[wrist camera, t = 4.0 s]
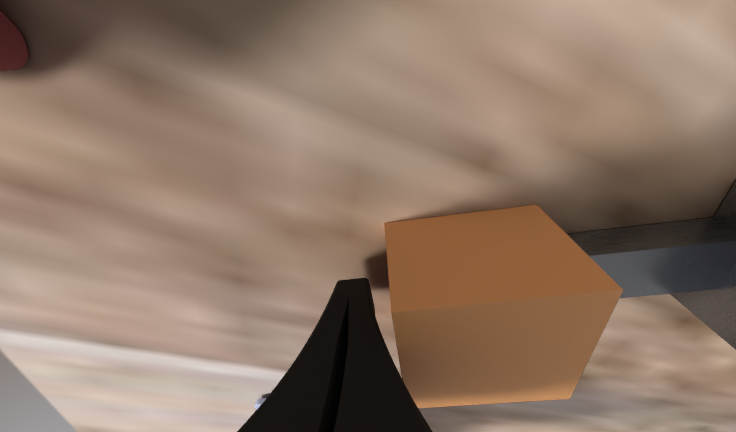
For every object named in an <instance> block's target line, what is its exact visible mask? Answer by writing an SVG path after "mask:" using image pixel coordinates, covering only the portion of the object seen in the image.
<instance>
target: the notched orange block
mask: <svg viewBox="0 0 736 432" xmlns="http://www.w3.org/2000/svg"><path fill="white" fill-rule="evenodd" d="M384 224H385V237H386V250H387V263H388V276H389V288H390V301H391V313H392V319H393V325H394V332H395V338H396V344H397V350H398V356H399V363H400V369H401V375H402V380H403V382H404V384H405V386H406V387H407V389H408V391H409V393H410V395H411V397H412V399H413V400H414V402H415V404H416V405H417V407H418V408H430V407H446V406H462V405H478V404H494V403H510V402H526V401H542V400H558V399H570V397H571V395H572V393H573V391H574V389H575V387H576V385H577V383H578V381H579V379H580V377H581V375H582V373H583V371H584V369H585V367H586V365H587V363H588V361H589V359H590V357H591V355H592V353H593V351H594V349H595V347H596V345H597V343H598V341H599V339H600V337H601V334H602V332H603V330H604V328H605V326H606V324H607V322H608V320H609V318H610V316H611V314H612V312H613V310H614V308H615V306H616V304H617V302H618V300H619V298H620V296H621V294H622V292H623V289H622V288H621V287H620V286H619V285H618V284H617V283H616V282H615V281H614V280H613V279H612V278H611V277H610V276H609V275H608V274H607V273H606V272H605V271H604V270H603V269H602V268H601V267H600V266H599V265H598V264H597V263H596V262H594V261H593V260H592V259H591V258H590V257H589V256H588V255H587V254H586V253H585V252H584V251H583V250H582V249H581V248H580V247H579V246H578V245H577V244H576V243H575V242H574V241H573V240H572V239H571V238H570V237H569V236H568V235H567V234H566V233H565V232H564V231H563V230H562V229H561V228H560V227H559V226H558V225H557V224H556V223H555V222H554V221H553V220H552V219H551V218H550V217H549V216H548V215H547V214H546V213H545V212H544V211H543V210H542V209H541V208H540V207H539V206H538V205H529V206H521V207H513V208H505V209H496V210H488V211H480V212H472V213H463V214H455V215H447V216H439V217H430V218H422V219H414V220H406V221H397V222H389V223H384Z"/></svg>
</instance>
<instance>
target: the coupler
mask: <svg viewBox="0 0 736 432" xmlns="http://www.w3.org/2000/svg"><path fill="white" fill-rule="evenodd" d="M567 235H568V236H569V237H570V238H571V239H572V240H573V241H574V242H575V243H576V244H577V245H578V246H579V247H580V248H581V249H582V250H583V251H584V252H585V253H586V254H587V255H588V256H589V257H590V258H591V259H592V260H593V261H594V262H596V263H597V264H598V265H599V266H600V267H601V268H602V269H603V270H604V271H605V272H606V273H607V274H608V275H609V276H610V277H611V278H612V279H613V280H614V281H615V282H616V283H617V284H618V285H619V286H620V287H621V288H622V289H623V292H622V294H621V296H620V298H627V297H638V296H649V295H660V294H671V295H672V296H673V297H674V298H675V299H677V300H678V301H679V302H680V303H681V304H682V305H684V306H685V307H686V308H687V309H688V310H690V311H691V312H692V313H693V314H694V315H695V316H697V317H698V318H699V319H700V320H701V321H703V322H704V323H705V324H706V325H707V326H708V327H710V328H711V329H712V330H713V331H714V332H715V333H717V334H718V335H719V336H720V337H721V338H723V339H724V340H725V341H726V342H727V343H728V344H730V345H731V346H732V347H733V348H734V349H736V181H735V183H734V185H733V186H732V188H731V190H730V191H729V193H728V194H727V196H726V198H725V199H724V201H723V202H722V204H721V206H720V207H719V209H718V211H717V212H716V214H715V215H714V217H712V218H703V219H694V220H685V221H676V222H668V223H659V224H650V225H641V226H632V227H623V228H614V229H605V230H596V231H587V232H578V233H569V234H567Z"/></svg>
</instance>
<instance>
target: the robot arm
mask: <svg viewBox="0 0 736 432" xmlns="http://www.w3.org/2000/svg"><path fill="white" fill-rule="evenodd" d="M254 407H255V409H256V411H255V412H254V414H253V415H252V416H251V417H250V418H249V419H248V421H247V422H246V423H245V424H244V425H243V426H242V427H241V428H240V429H239V430H238V431H237V432H432V430H431V429H430V427H429V426H428V424H427V422H426V421H425V419H424V417H423V416H422V414H421V412H420V411H419V409H418V407H417V405H416V404H415V402H414V400H413V399H412V397H411V395H410V393H409V391H408V389H407V387H406V386H405V384H404V382H403V380H402V378H401V376H400V374H399V372H398V370H397V368H396V366H395V364H394V362H393V360H392V358H391V356H390V353H389V351H388V349H387V347H386V344H385V342H384V339H383V337H382V334H381V332H380V329H379V326H378V324H377V321H376V317H375V308H374V303H373V298H372V293H371V289H370V284H369V279H367V278H359V279H349V280H340V281H338V282H337V283H336V286H335V288H334V291H333V293H332V295H331V297H330V300H329V302H328V304H327V306H326V308H325V310H324V312H323V314H322V316H321V318H320V320H319V322H318V324H317V325H316V327H315V329H314V331H313V332H312V334H311V336H310V337H309V339H308V341H307V343H306V344H305V346H304V347H303V349H302V351H301V352H300V354H299V355H298V357H297V358H296V360H295V361H294V363H293V364H292V366H291V367H290V368H289V370H288V371H287V372H286V374H285V375H284V377H283V378H282V379H281V381H280V382H279V383H278V385H277V386H276V387H275V388H274V390H273V391H272V392H271V393H270V395H269V396H268V397H267V398H262V399H258V400H257V401H256V403H255V406H254Z"/></svg>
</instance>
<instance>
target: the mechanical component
mask: <svg viewBox="0 0 736 432" xmlns="http://www.w3.org/2000/svg"><path fill="white" fill-rule="evenodd" d="M27 61H28V50H27V45H26V42H25V40H24V38H23V36H22V34H21V33H20V32H19V30H18V29H17V27H16V26H15V25H14V24H13V23H12V22H11V21H10V20H9V19H8V18H7V17H6V16H5V15H4V14H3V13H2V12H1V11H0V71H6V70H17V69H20V68H22V67H24V66H25V64H26V63H27Z"/></svg>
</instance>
